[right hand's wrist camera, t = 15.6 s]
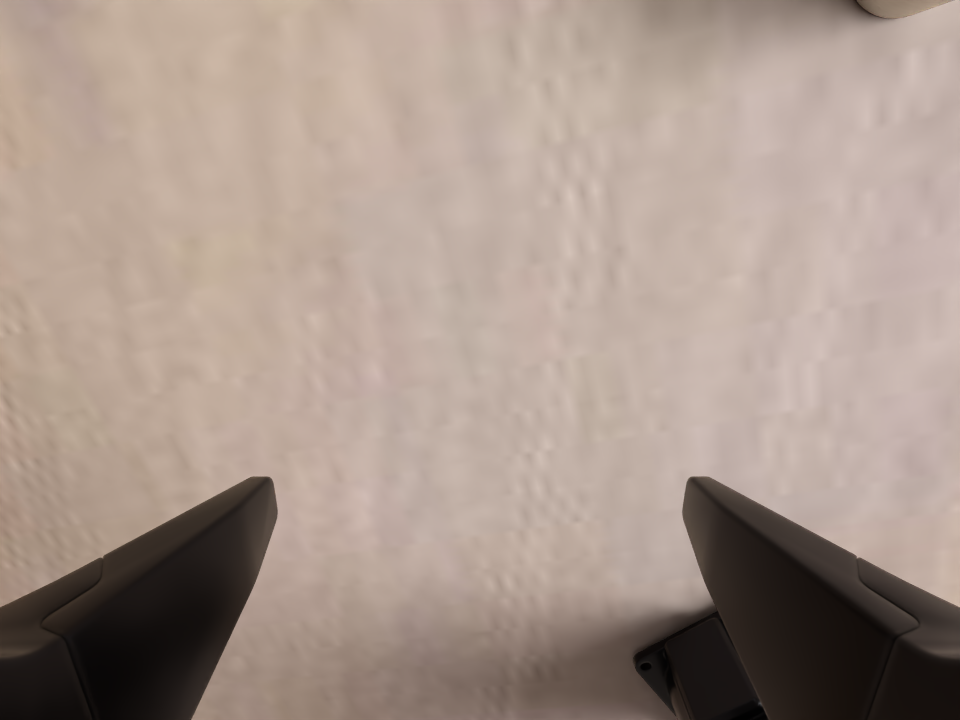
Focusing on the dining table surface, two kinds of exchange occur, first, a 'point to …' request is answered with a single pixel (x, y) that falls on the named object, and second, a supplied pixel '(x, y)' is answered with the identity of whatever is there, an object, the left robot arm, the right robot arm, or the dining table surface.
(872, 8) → the canister
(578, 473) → the dining table surface
